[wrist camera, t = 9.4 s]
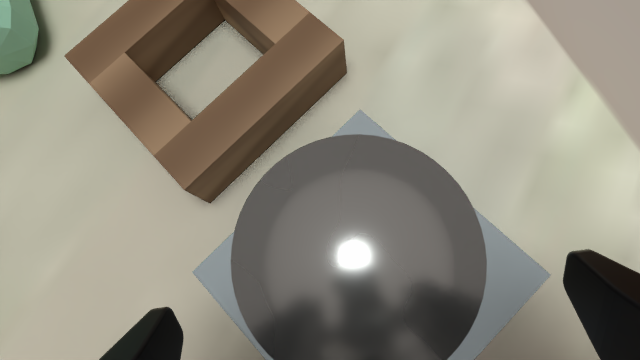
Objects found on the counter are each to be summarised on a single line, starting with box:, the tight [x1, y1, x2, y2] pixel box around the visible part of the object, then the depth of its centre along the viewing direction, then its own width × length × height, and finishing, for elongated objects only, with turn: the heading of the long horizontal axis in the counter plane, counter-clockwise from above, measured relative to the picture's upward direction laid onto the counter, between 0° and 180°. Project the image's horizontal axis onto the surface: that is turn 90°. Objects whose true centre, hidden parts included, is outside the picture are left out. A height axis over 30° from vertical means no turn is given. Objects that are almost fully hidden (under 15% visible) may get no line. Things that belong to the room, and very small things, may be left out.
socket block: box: [193, 110, 550, 360], centre depth 17 cm, size 10×10×3 cm
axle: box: [231, 134, 487, 360], centre depth 12 cm, size 3×3×14 cm
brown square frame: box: [65, 0, 347, 203], centre depth 21 cm, size 10×10×3 cm
